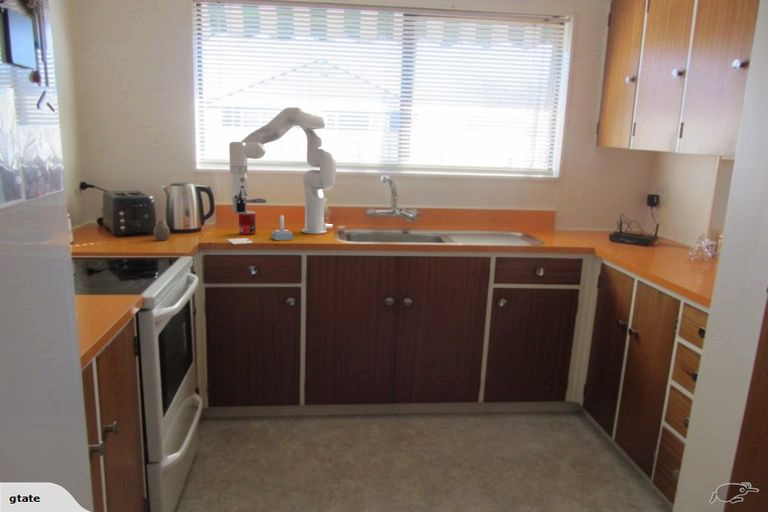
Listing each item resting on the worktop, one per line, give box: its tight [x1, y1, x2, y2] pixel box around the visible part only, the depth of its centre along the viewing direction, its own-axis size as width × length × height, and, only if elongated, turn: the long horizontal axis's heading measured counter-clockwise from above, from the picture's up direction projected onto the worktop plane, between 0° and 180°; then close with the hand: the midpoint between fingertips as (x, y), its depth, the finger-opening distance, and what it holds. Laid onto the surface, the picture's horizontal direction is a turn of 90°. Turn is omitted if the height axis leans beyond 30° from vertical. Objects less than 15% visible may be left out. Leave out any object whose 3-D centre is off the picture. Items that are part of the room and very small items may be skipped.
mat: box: [226, 237, 254, 245], centre depth 252 cm, size 9×11×1 cm
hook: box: [232, 196, 267, 214], centre depth 251 cm, size 14×5×7 cm, turn 120°
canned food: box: [238, 210, 257, 236], centre depth 272 cm, size 8×8×11 cm
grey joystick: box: [270, 215, 294, 241], centre depth 261 cm, size 8×7×11 cm
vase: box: [153, 219, 171, 242], centre depth 249 cm, size 7×7×9 cm
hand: (239, 210), depth 249 cm, fingers closed on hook, 4 cm apart
